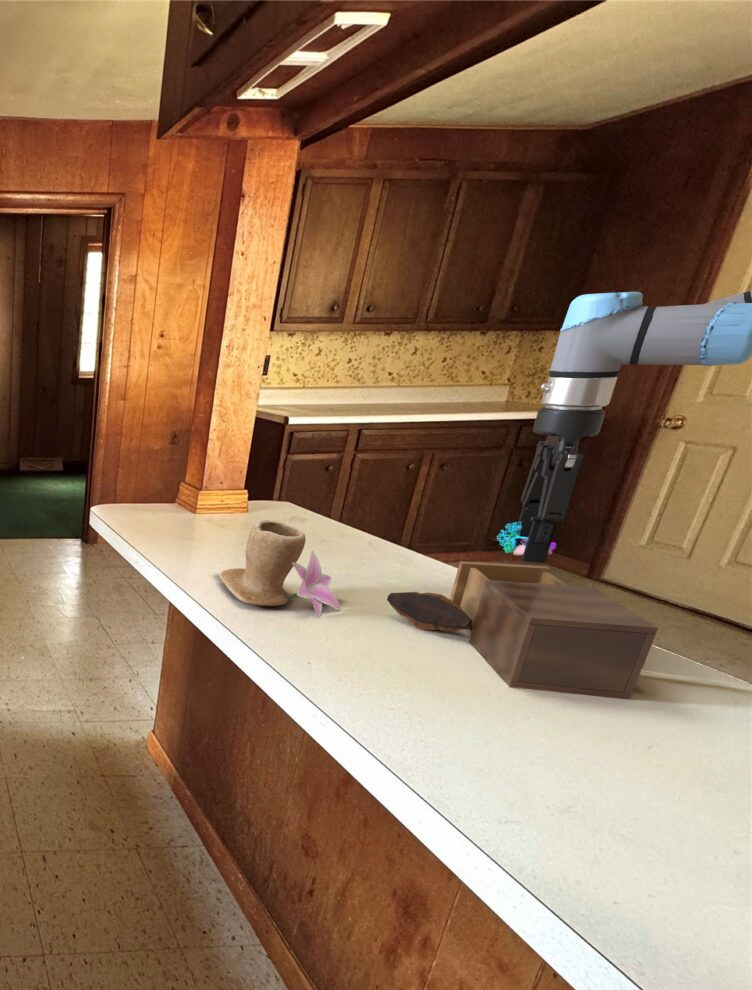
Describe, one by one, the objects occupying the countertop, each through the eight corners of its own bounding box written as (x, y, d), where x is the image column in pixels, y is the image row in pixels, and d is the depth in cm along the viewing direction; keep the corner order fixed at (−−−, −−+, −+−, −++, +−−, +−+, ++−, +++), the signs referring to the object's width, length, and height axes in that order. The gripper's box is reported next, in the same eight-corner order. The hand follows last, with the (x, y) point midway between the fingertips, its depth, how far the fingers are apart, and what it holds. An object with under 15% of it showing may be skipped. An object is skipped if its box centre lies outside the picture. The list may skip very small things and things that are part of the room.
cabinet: (468, 641, 109) (485, 579, 105) (571, 650, 104) (593, 586, 100) (509, 686, 95) (530, 617, 91) (630, 699, 90) (658, 627, 87)
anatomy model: (579, 536, 100) (556, 519, 106) (517, 534, 102) (498, 518, 108) (567, 566, 103) (545, 548, 108) (506, 564, 105) (488, 547, 111)
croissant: (396, 577, 117) (407, 586, 120) (376, 610, 118) (386, 619, 121) (481, 603, 106) (490, 613, 109) (457, 640, 107) (467, 649, 110)
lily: (280, 624, 120) (316, 587, 114) (254, 580, 128) (286, 543, 122) (331, 635, 123) (369, 600, 117) (303, 592, 132) (336, 556, 125)
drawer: (436, 596, 124) (448, 551, 121) (517, 602, 120) (531, 556, 117) (478, 641, 106) (493, 589, 103) (575, 649, 102) (593, 596, 99)
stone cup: (304, 611, 122) (317, 533, 117) (237, 610, 124) (247, 533, 118) (277, 583, 136) (287, 512, 131) (217, 582, 138) (225, 512, 132)
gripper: (524, 400, 108) (487, 536, 116) (557, 413, 91) (511, 570, 100) (585, 401, 104) (541, 540, 113) (630, 415, 88) (575, 576, 97)
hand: (527, 554), depth 106 cm, fingers closed on anatomy model, 7 cm apart
